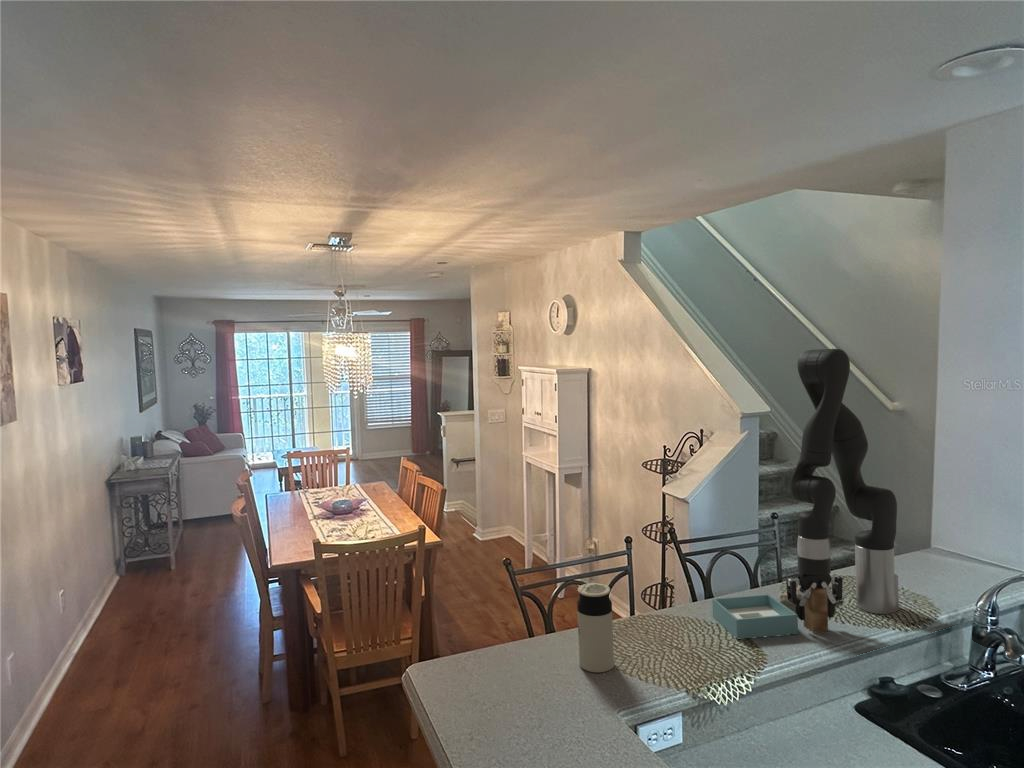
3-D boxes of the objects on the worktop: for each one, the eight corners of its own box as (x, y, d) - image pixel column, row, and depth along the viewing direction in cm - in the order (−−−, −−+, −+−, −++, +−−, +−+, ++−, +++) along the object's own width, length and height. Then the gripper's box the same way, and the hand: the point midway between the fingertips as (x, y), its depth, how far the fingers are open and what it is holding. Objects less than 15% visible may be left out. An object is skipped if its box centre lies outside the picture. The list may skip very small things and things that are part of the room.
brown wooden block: (818, 625, 158) (817, 583, 158) (828, 631, 154) (826, 588, 154) (803, 626, 158) (802, 584, 157) (813, 633, 154) (811, 589, 153)
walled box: (769, 612, 167) (768, 594, 167) (798, 634, 153) (797, 614, 153) (712, 616, 166) (712, 598, 166) (737, 639, 152) (736, 620, 152)
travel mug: (619, 661, 144) (616, 585, 143) (606, 676, 137) (603, 597, 136) (587, 654, 148) (585, 580, 147) (573, 669, 141) (570, 591, 140)
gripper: (831, 547, 160) (832, 609, 160) (779, 551, 158) (780, 614, 159) (849, 556, 152) (851, 621, 153) (795, 560, 151) (796, 626, 151)
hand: (815, 617), depth 156 cm, fingers open, 7 cm apart
